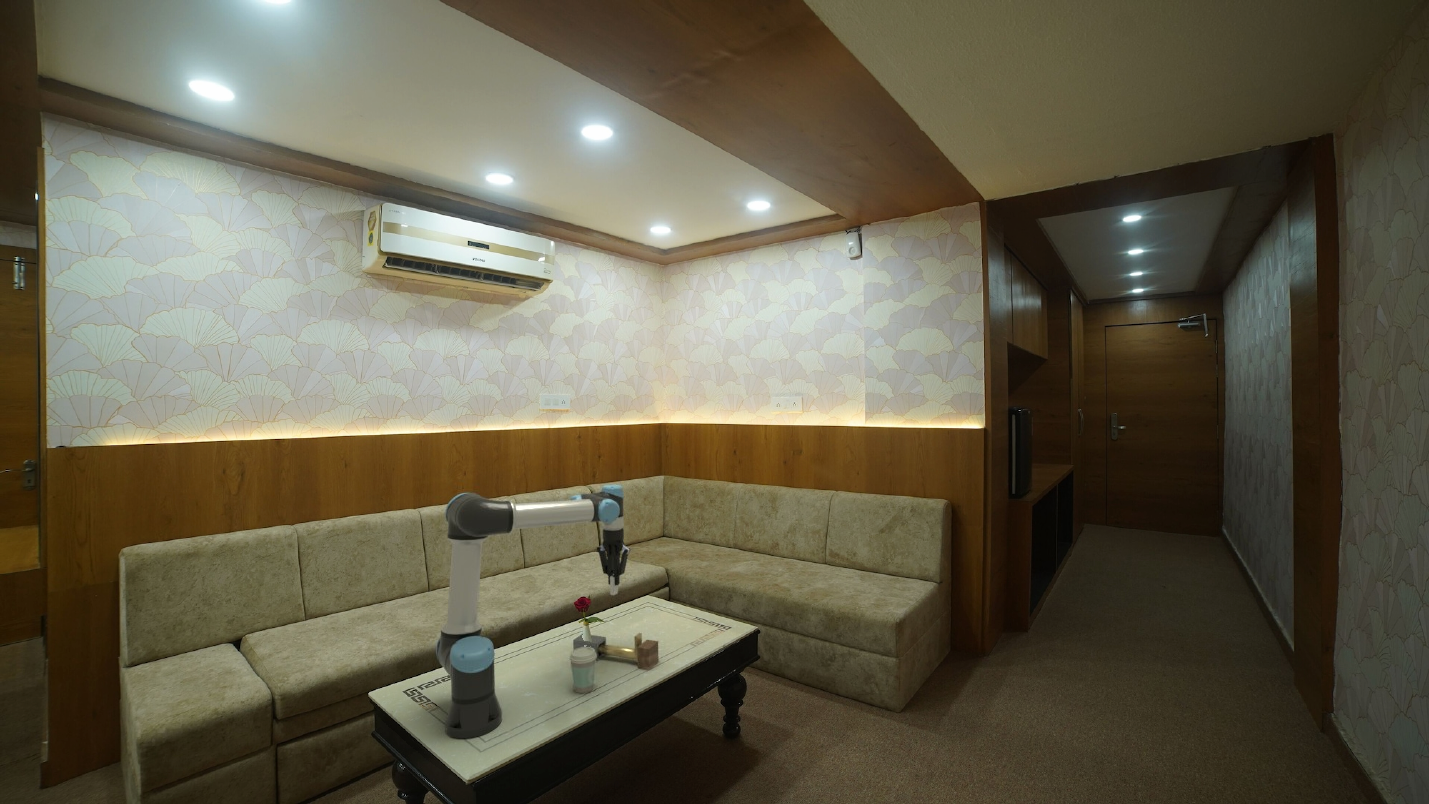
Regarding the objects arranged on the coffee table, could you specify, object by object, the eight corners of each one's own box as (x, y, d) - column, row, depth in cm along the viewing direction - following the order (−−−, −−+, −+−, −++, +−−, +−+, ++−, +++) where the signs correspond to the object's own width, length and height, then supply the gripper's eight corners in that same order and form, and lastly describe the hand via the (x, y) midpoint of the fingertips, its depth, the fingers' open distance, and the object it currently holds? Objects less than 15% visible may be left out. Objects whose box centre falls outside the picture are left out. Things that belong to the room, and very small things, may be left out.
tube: (588, 654, 216) (587, 630, 215) (593, 650, 219) (593, 626, 219) (645, 663, 207) (644, 638, 207) (649, 658, 210) (649, 634, 210)
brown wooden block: (637, 668, 206) (637, 647, 206) (647, 659, 213) (646, 639, 213) (649, 670, 205) (648, 649, 205) (658, 661, 211) (658, 641, 211)
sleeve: (573, 657, 216) (573, 640, 216) (583, 650, 222) (582, 633, 222) (597, 660, 213) (596, 643, 213) (606, 654, 218) (605, 637, 218)
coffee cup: (591, 696, 188) (590, 658, 187) (565, 694, 189) (564, 656, 189) (601, 683, 196) (600, 646, 196) (577, 681, 198) (576, 645, 197)
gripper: (591, 529, 214) (592, 595, 214) (623, 531, 209) (624, 599, 209) (603, 525, 221) (604, 588, 221) (634, 527, 216) (635, 592, 216)
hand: (614, 593), depth 215 cm, fingers closed
